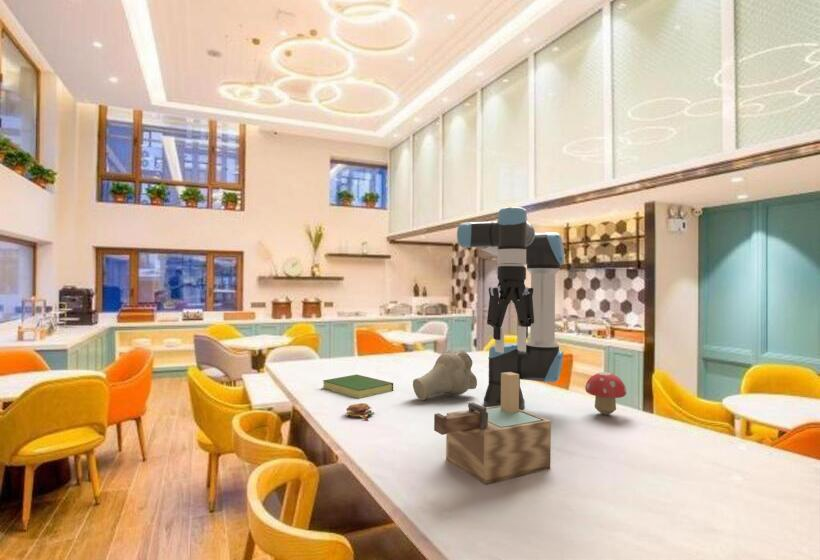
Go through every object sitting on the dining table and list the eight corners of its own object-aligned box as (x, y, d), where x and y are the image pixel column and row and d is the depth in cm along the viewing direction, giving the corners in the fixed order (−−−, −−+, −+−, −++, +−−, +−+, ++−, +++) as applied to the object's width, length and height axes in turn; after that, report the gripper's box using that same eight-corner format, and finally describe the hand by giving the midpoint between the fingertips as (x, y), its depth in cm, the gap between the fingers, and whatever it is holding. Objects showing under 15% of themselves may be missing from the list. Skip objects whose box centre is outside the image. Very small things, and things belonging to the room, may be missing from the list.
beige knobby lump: (421, 374, 167) (479, 350, 182) (389, 356, 184) (444, 335, 199) (427, 426, 173) (482, 399, 188) (395, 404, 190) (448, 380, 205)
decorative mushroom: (578, 414, 164) (579, 372, 164) (593, 407, 174) (594, 367, 174) (618, 422, 155) (618, 377, 155) (631, 414, 165) (631, 372, 165)
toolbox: (505, 446, 131) (506, 386, 131) (550, 468, 116) (551, 400, 116) (431, 461, 119) (432, 395, 119) (470, 488, 104) (471, 412, 104)
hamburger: (333, 420, 155) (333, 402, 155) (353, 409, 168) (354, 393, 168) (370, 426, 150) (371, 407, 150) (389, 414, 163) (389, 397, 163)
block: (480, 422, 113) (480, 407, 113) (489, 426, 110) (489, 410, 110) (434, 430, 107) (434, 413, 107) (442, 434, 104) (442, 417, 104)
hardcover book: (393, 391, 196) (393, 383, 196) (358, 399, 182) (359, 390, 182) (355, 382, 213) (355, 374, 213) (321, 388, 200) (321, 380, 200)
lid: (505, 411, 129) (505, 370, 129) (541, 425, 116) (542, 380, 116) (466, 417, 123) (467, 374, 123) (501, 433, 110) (501, 385, 110)
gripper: (529, 266, 132) (528, 347, 132) (473, 265, 123) (472, 351, 123) (549, 266, 126) (548, 350, 126) (491, 264, 116) (489, 355, 116)
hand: (510, 351), depth 124 cm, fingers open, 7 cm apart
